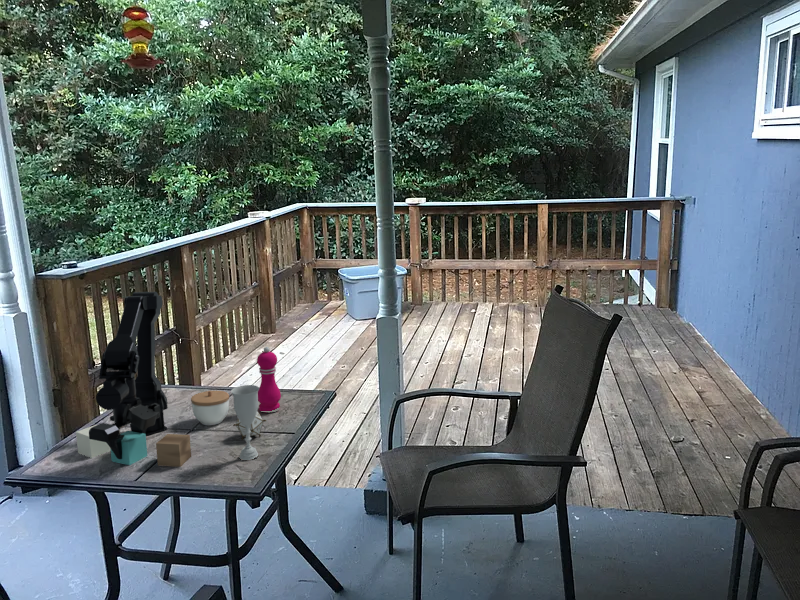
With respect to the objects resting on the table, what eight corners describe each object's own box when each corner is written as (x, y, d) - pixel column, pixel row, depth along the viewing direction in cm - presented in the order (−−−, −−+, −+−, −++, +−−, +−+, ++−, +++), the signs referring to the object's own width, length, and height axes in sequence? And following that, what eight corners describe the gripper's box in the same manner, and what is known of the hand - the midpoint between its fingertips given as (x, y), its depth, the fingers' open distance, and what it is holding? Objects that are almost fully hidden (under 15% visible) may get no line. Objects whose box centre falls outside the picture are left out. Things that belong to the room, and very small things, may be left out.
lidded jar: (187, 420, 194) (185, 390, 192) (222, 412, 201) (220, 382, 199) (200, 431, 186) (198, 399, 184) (236, 422, 192) (234, 391, 190)
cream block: (99, 445, 177) (97, 424, 176) (112, 450, 174) (110, 428, 173) (78, 453, 172) (75, 431, 171) (91, 458, 169) (89, 436, 168)
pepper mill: (258, 415, 198) (255, 350, 194) (256, 407, 205) (253, 345, 201) (282, 412, 200) (279, 348, 196) (280, 404, 207) (277, 343, 203)
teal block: (129, 452, 172) (127, 430, 171) (147, 455, 170) (145, 433, 169) (111, 461, 167) (109, 439, 166) (129, 465, 165) (127, 442, 163)
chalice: (246, 449, 173) (242, 383, 170) (268, 453, 171) (264, 386, 168) (229, 460, 167) (225, 392, 163) (252, 464, 164) (248, 395, 161)
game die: (254, 446, 185) (269, 412, 188) (259, 446, 177) (274, 411, 180) (224, 433, 182) (240, 400, 186) (228, 433, 175) (244, 398, 178)
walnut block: (169, 455, 170) (167, 433, 169) (191, 456, 169) (189, 434, 168) (157, 465, 164) (155, 443, 163) (180, 467, 163) (178, 444, 162)
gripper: (119, 412, 154) (125, 474, 157) (175, 388, 171) (179, 445, 174) (84, 406, 158) (90, 467, 161) (142, 383, 175) (146, 438, 178)
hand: (129, 454), depth 168 cm, fingers closed on teal block, 6 cm apart
